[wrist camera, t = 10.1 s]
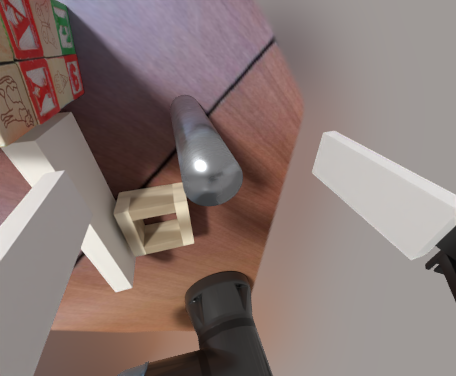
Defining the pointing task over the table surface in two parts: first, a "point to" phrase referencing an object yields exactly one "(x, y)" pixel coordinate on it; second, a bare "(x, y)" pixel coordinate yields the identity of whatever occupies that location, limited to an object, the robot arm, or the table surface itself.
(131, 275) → the wall
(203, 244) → the table surface
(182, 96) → the dowel
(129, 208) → the hole block
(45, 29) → the stack of blocks
